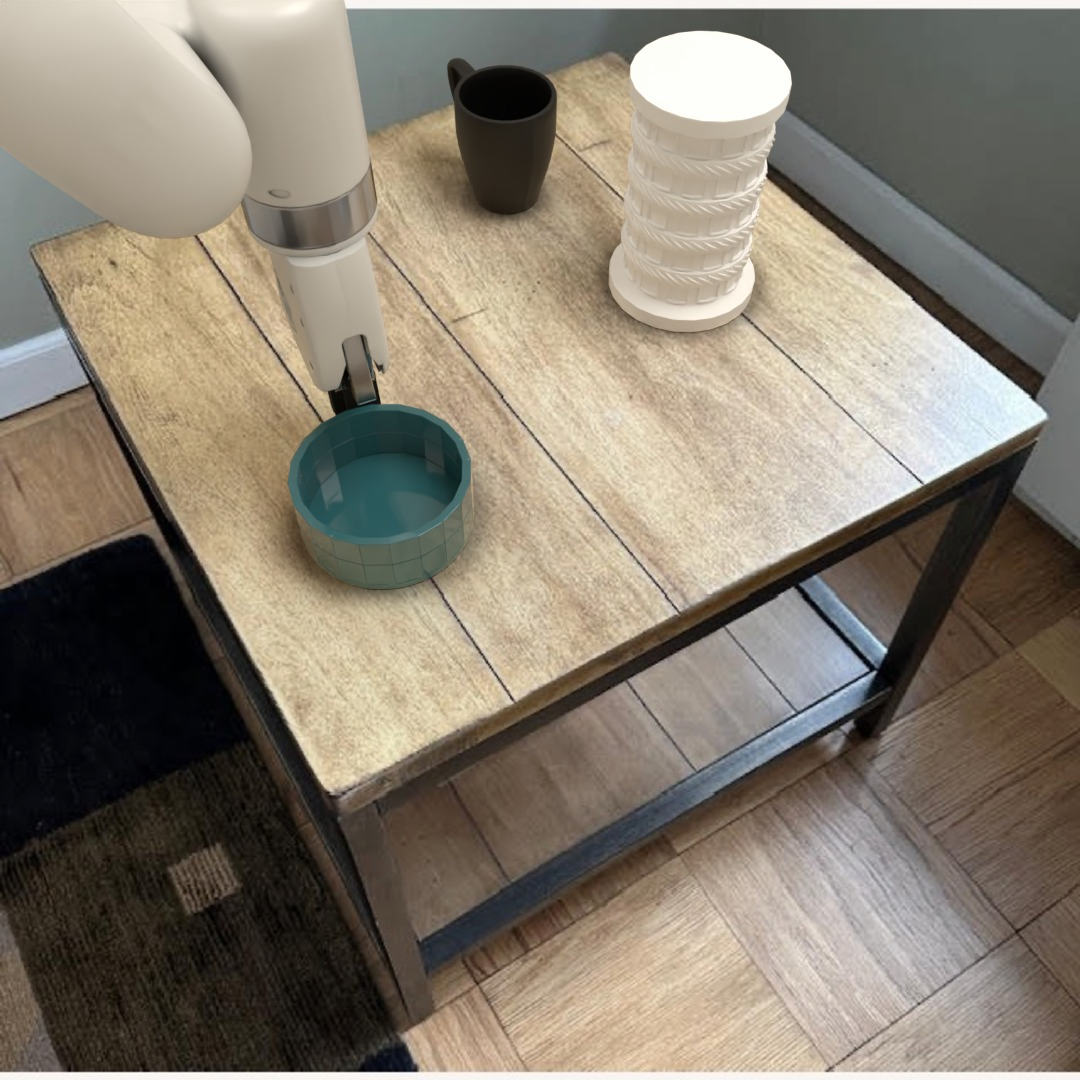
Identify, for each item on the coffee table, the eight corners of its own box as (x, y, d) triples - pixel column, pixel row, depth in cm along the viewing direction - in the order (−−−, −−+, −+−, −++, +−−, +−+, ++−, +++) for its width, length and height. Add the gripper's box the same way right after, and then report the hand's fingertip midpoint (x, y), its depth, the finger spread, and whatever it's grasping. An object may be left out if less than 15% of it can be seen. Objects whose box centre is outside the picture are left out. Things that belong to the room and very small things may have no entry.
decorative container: (587, 252, 90) (598, 44, 75) (715, 223, 92) (750, 16, 78) (641, 347, 84) (665, 139, 69) (777, 313, 86) (828, 105, 71)
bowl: (292, 590, 70) (278, 545, 66) (310, 452, 77) (298, 404, 73) (472, 588, 71) (469, 543, 67) (475, 451, 77) (472, 403, 73)
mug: (499, 132, 100) (497, 32, 92) (573, 203, 94) (577, 102, 86) (420, 162, 97) (411, 61, 89) (491, 236, 91) (488, 135, 83)
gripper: (211, 135, 65) (277, 356, 80) (277, 295, 57) (336, 507, 72) (334, 104, 66) (375, 326, 81) (415, 256, 58) (444, 471, 73)
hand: (357, 411), depth 76 cm, fingers closed
